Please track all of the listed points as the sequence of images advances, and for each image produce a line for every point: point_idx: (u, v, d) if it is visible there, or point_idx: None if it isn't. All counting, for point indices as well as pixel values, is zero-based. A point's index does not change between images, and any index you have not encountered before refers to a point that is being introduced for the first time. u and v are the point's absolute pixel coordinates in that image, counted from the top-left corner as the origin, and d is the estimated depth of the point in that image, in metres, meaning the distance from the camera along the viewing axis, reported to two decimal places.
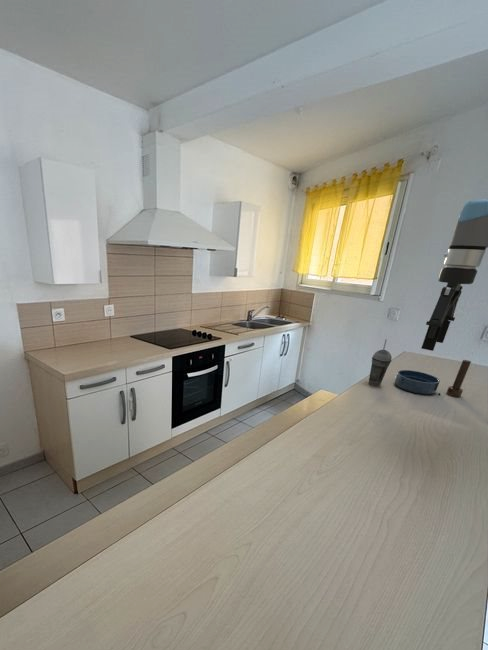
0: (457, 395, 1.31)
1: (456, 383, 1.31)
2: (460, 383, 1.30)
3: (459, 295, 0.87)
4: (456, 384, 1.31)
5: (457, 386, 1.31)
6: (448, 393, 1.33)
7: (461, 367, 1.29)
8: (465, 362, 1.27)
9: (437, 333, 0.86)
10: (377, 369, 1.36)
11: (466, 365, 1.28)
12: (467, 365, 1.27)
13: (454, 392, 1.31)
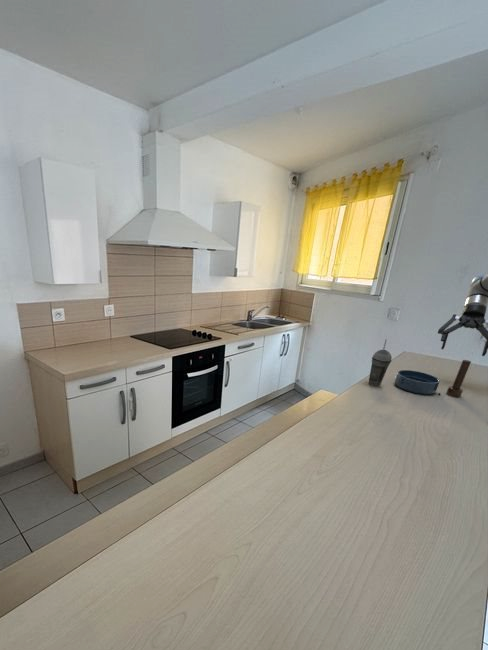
0: (457, 395, 1.31)
1: (456, 383, 1.31)
2: (460, 383, 1.30)
3: (475, 320, 1.35)
4: (456, 384, 1.31)
5: (457, 386, 1.31)
6: (448, 393, 1.33)
7: (461, 367, 1.29)
8: (465, 362, 1.27)
9: (445, 336, 1.38)
10: (377, 369, 1.36)
11: (466, 365, 1.28)
12: (467, 365, 1.27)
13: (454, 392, 1.31)
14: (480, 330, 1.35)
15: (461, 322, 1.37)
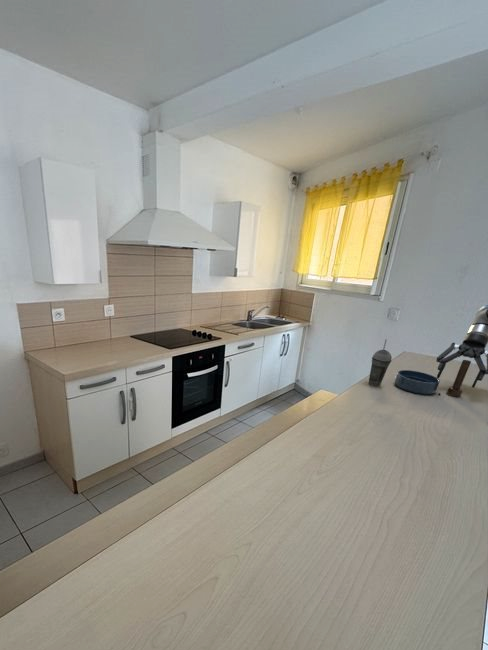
0: (457, 395, 1.31)
1: (456, 383, 1.31)
2: (460, 383, 1.30)
3: (474, 349, 1.31)
4: (456, 384, 1.31)
5: (457, 386, 1.31)
6: (448, 393, 1.33)
7: (461, 367, 1.29)
8: (465, 362, 1.27)
9: (442, 365, 1.34)
10: (377, 369, 1.36)
11: (466, 365, 1.28)
12: (467, 365, 1.27)
13: (454, 392, 1.31)
14: (476, 360, 1.31)
15: (460, 351, 1.33)
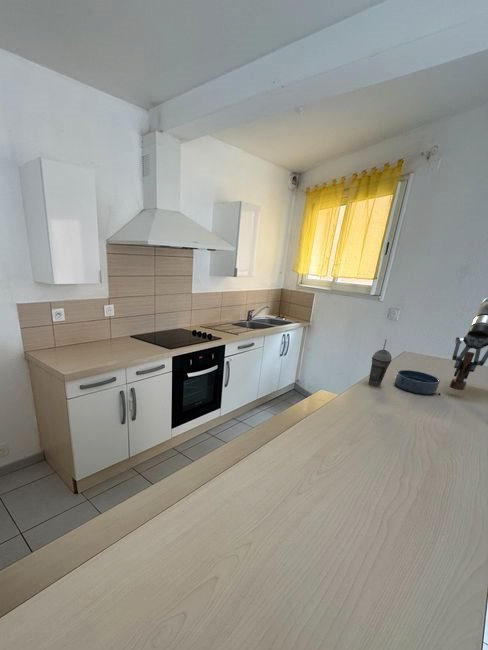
0: (461, 388, 1.30)
1: (459, 375, 1.29)
2: (463, 375, 1.29)
3: (478, 340, 1.29)
4: (459, 376, 1.30)
5: (461, 379, 1.29)
6: (451, 386, 1.32)
7: (464, 359, 1.27)
8: (468, 354, 1.26)
9: (459, 363, 1.29)
10: (377, 369, 1.36)
11: (469, 357, 1.26)
12: (470, 357, 1.26)
13: (457, 385, 1.30)
14: None
15: (468, 344, 1.30)
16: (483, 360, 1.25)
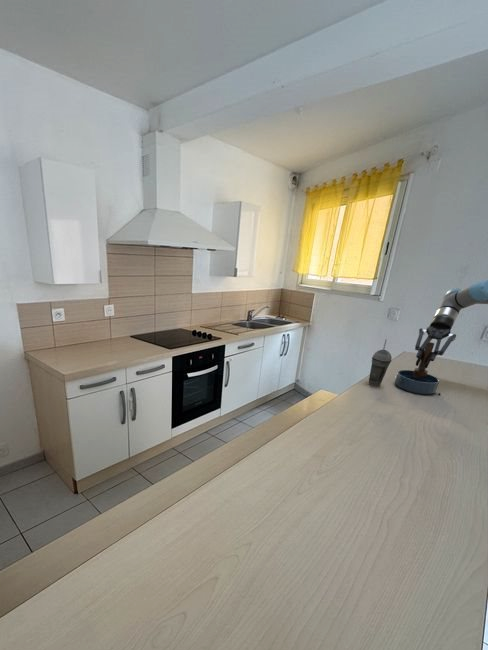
0: (422, 376, 1.36)
1: (421, 364, 1.36)
2: None
3: (439, 331, 1.35)
4: (421, 366, 1.36)
5: (422, 368, 1.36)
6: (414, 375, 1.38)
7: (425, 349, 1.34)
8: (429, 344, 1.32)
9: (420, 353, 1.35)
10: (377, 369, 1.36)
11: (430, 347, 1.32)
12: (431, 347, 1.32)
13: (419, 374, 1.36)
14: None
15: (430, 335, 1.36)
16: (442, 350, 1.32)
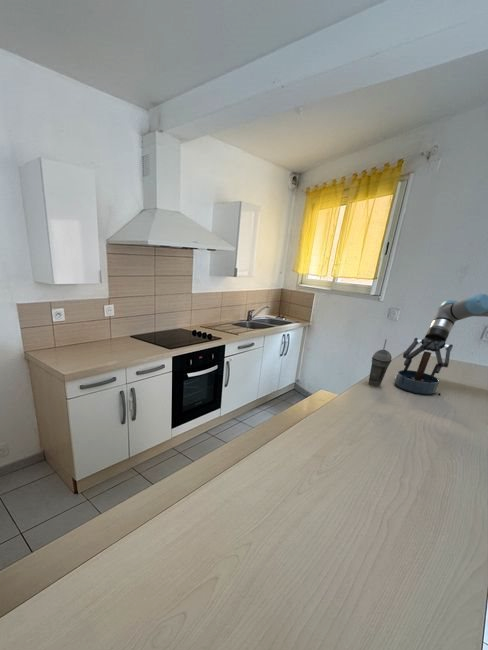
0: None
1: (417, 373, 1.37)
2: (421, 374, 1.36)
3: (434, 343, 1.35)
4: (417, 374, 1.37)
5: (418, 377, 1.37)
6: None
7: (422, 358, 1.35)
8: (425, 353, 1.33)
9: (408, 361, 1.38)
10: (377, 369, 1.36)
11: (426, 356, 1.33)
12: (427, 356, 1.33)
13: None
14: (436, 354, 1.35)
15: (423, 345, 1.37)
16: (447, 362, 1.30)
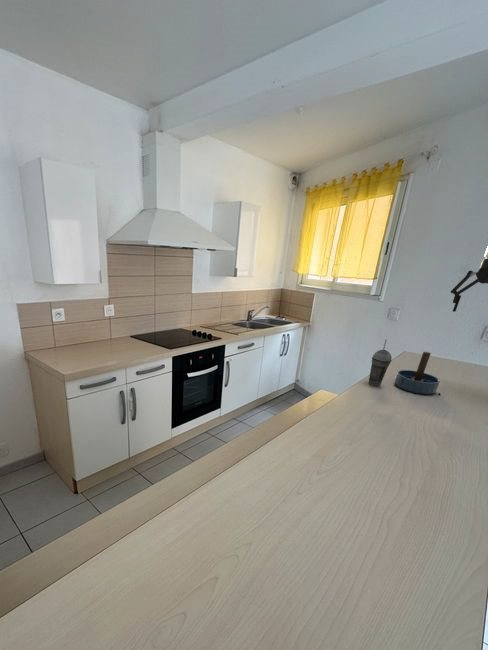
0: None
1: (417, 373, 1.37)
2: (420, 374, 1.36)
3: None
4: (417, 375, 1.37)
5: (418, 377, 1.37)
6: None
7: (421, 358, 1.35)
8: (424, 353, 1.33)
9: (456, 299, 1.34)
10: (377, 369, 1.36)
11: (425, 356, 1.33)
12: (426, 356, 1.33)
13: None
14: None
15: (475, 281, 1.28)
16: None
